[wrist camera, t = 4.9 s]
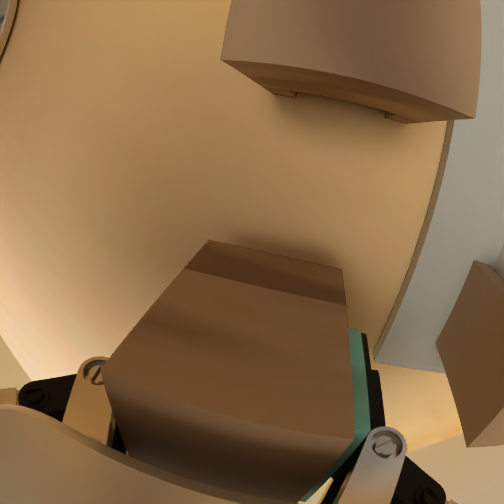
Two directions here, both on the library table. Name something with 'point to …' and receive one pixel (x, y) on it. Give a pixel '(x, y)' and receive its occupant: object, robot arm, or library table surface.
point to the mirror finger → (363, 52)
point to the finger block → (244, 375)
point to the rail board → (462, 260)
